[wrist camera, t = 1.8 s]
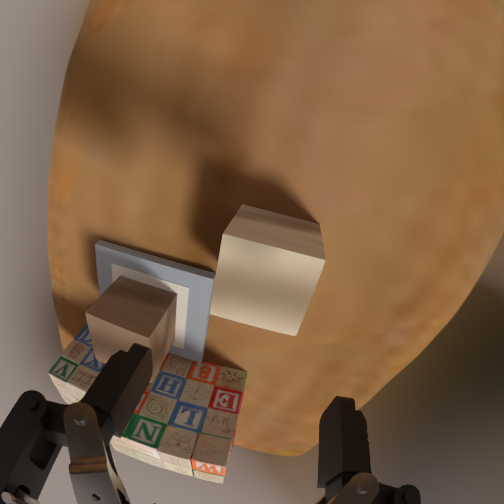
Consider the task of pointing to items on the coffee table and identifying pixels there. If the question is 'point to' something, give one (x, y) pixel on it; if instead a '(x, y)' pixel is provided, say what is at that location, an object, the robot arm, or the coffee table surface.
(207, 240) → the coffee table surface
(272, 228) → the maple block
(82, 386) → the stack of blocks
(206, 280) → the build board
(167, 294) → the walnut block
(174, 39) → the coffee table surface
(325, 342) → the coffee table surface
